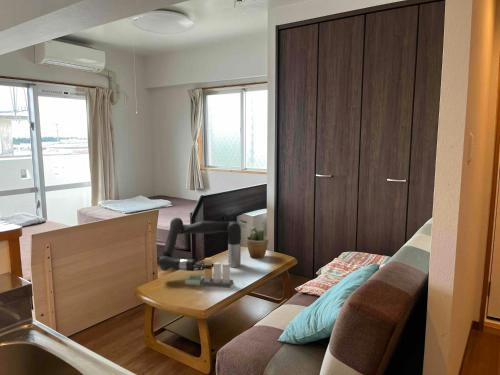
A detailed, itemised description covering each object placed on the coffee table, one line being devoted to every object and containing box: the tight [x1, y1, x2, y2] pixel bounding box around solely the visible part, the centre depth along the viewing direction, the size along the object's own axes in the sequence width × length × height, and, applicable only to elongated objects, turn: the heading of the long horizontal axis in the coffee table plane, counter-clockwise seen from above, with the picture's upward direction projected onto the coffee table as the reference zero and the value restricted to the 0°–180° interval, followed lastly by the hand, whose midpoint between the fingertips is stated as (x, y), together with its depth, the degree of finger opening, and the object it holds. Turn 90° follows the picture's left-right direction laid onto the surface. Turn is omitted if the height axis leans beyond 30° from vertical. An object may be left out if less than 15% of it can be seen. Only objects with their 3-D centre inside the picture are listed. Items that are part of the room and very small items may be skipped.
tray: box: [184, 274, 206, 287], centre depth 250 cm, size 10×10×3 cm
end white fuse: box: [222, 262, 231, 283], centre depth 245 cm, size 3×4×12 cm
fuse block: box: [201, 276, 234, 288], centre depth 247 cm, size 9×19×4 cm, turn 78°
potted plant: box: [245, 226, 270, 260], centre depth 303 cm, size 18×19×25 cm
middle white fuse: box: [213, 261, 222, 282], centre depth 246 cm, size 3×4×12 cm
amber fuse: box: [203, 257, 213, 278], centre depth 247 cm, size 3×4×12 cm
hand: (212, 266), depth 246 cm, fingers closed on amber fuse, 3 cm apart
